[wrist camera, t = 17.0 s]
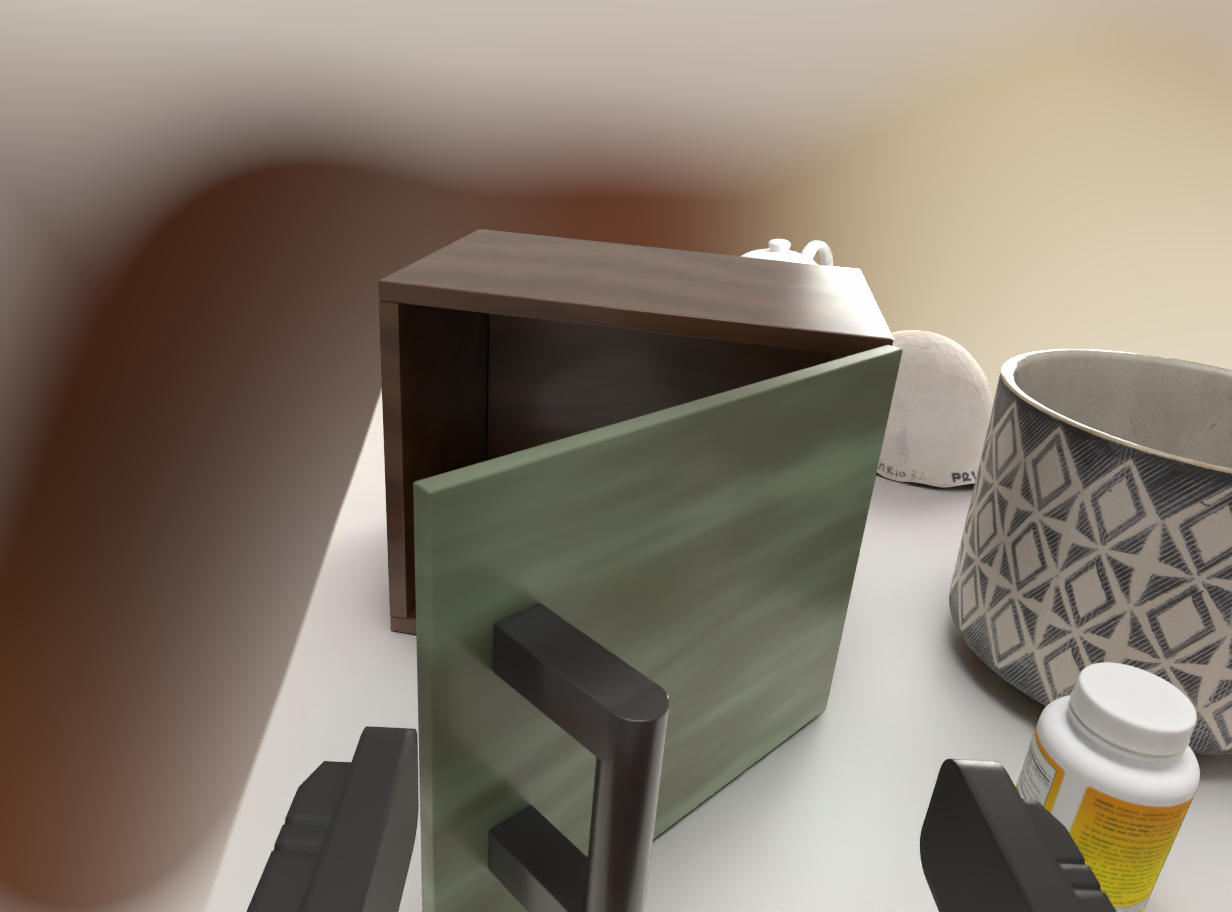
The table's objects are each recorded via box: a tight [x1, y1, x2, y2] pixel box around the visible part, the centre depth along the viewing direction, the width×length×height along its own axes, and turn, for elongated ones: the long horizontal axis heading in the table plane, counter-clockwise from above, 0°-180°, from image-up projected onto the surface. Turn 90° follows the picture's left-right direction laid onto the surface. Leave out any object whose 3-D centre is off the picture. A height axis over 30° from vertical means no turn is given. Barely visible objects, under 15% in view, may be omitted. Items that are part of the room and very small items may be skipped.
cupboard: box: [379, 229, 894, 634], centre depth 51 cm, size 16×24×20 cm, turn 81°
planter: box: [949, 349, 1232, 756], centre depth 48 cm, size 19×19×16 cm
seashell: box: [877, 330, 994, 487], centre depth 79 cm, size 15×14×15 cm
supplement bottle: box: [1016, 662, 1200, 912], centre depth 35 cm, size 6×6×10 cm
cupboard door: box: [413, 345, 903, 912], centre depth 32 cm, size 7×24×20 cm, turn 134°
